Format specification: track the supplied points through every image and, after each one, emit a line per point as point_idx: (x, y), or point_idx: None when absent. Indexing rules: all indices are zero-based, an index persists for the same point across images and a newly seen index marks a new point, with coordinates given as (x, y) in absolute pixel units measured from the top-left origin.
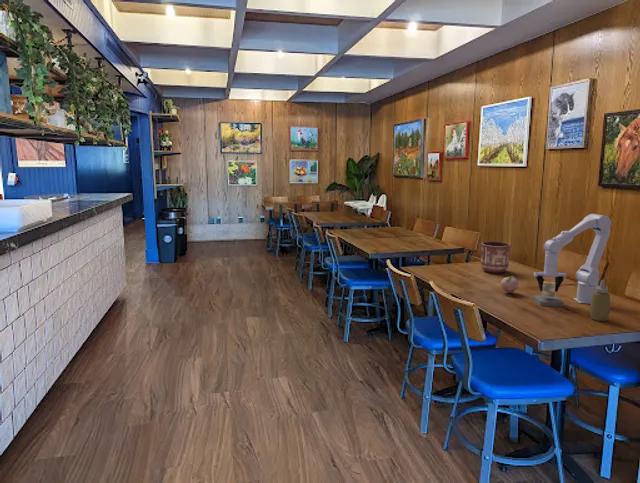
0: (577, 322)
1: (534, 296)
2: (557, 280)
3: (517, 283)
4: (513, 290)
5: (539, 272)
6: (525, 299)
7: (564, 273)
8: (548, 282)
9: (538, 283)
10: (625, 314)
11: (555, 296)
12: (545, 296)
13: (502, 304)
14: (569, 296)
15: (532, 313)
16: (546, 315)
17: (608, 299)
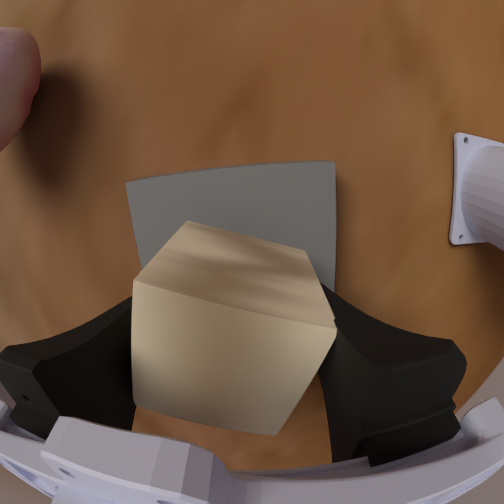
0: (285, 463)
1: (134, 223)
2: (337, 435)
3: (3, 86)
4: (16, 133)
5: (9, 461)
6: (94, 210)
7: (492, 472)
8: (215, 347)
9: (87, 326)
10: (497, 350)
11: (329, 185)
12: (231, 201)
13: (24, 325)
14: (444, 74)
15: (139, 420)
16: (191, 435)
17: None
